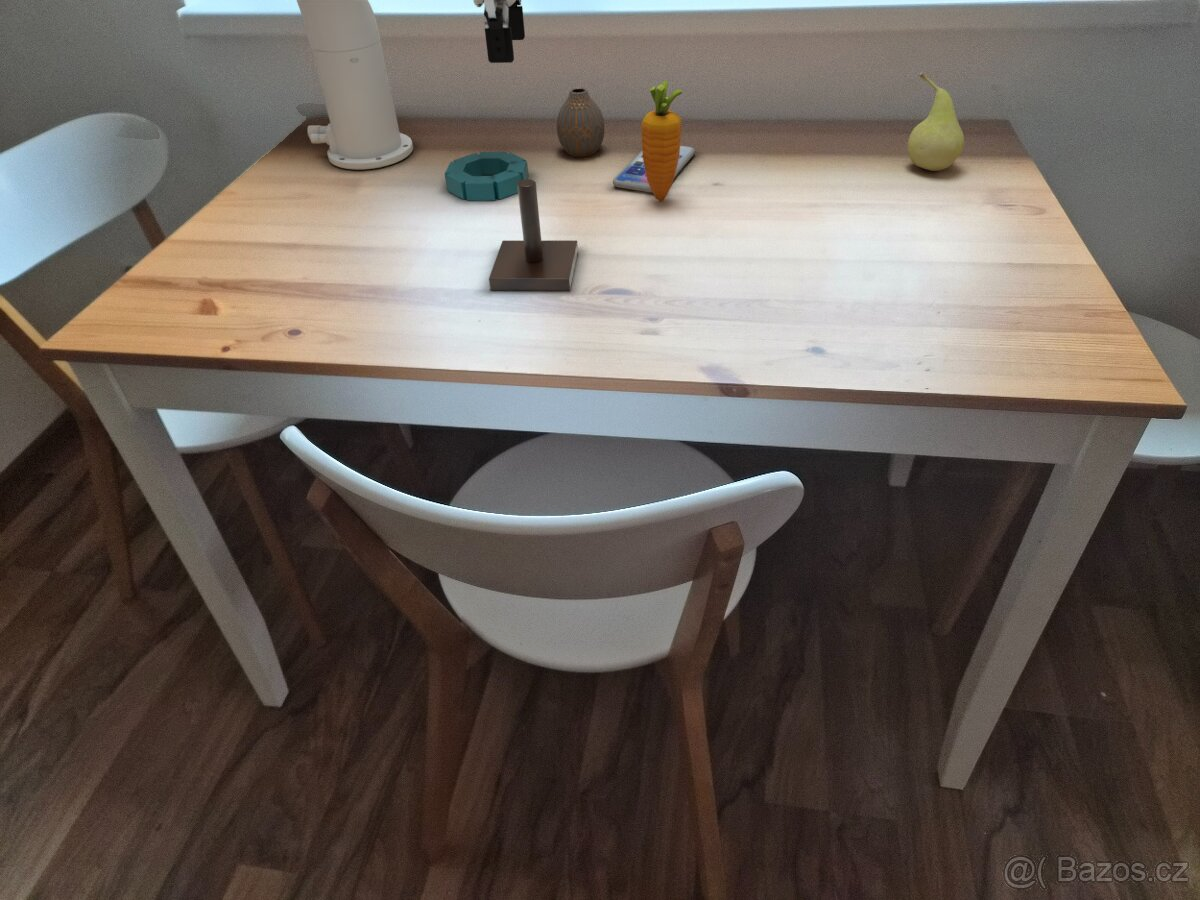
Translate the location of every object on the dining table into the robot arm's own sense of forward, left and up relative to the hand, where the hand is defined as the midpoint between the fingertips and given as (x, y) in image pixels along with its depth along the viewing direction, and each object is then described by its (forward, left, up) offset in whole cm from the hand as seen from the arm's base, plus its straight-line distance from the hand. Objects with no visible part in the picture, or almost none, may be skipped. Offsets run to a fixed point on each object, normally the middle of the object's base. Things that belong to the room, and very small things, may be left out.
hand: (507, 50), depth 105 cm
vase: (+8, +6, -16) cm, 19 cm away
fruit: (+56, -1, -16) cm, 58 cm away
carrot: (+20, -11, -16) cm, 28 cm away
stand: (+6, -29, -16) cm, 34 cm away
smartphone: (+19, -1, -16) cm, 25 cm away
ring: (-4, -5, -16) cm, 17 cm away
